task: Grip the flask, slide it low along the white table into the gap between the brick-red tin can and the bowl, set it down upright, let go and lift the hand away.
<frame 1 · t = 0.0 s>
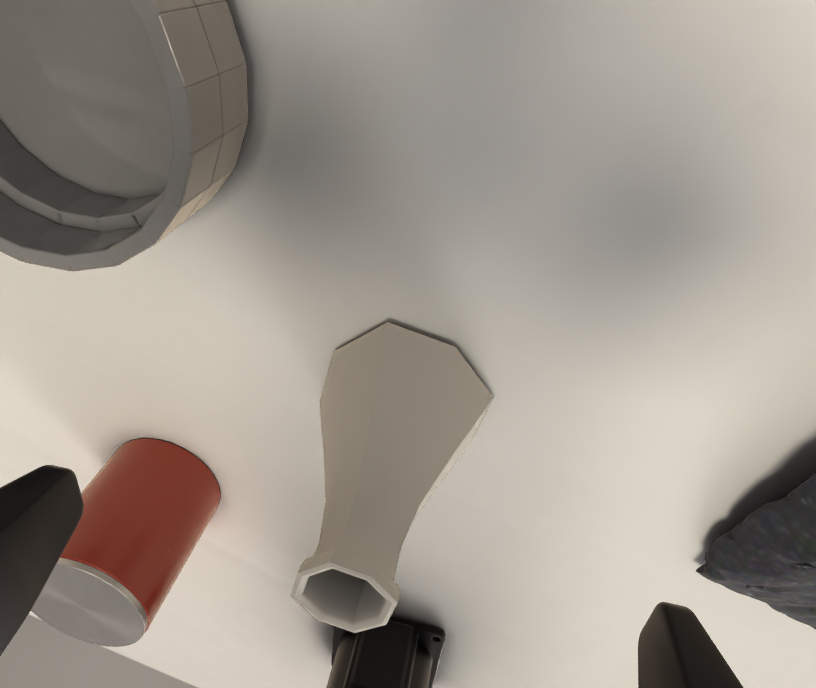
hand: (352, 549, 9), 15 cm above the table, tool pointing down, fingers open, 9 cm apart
tin can: (167, 480, 32), on the table
flask: (405, 392, 26), on the table
bowl: (97, 64, 21), on the table
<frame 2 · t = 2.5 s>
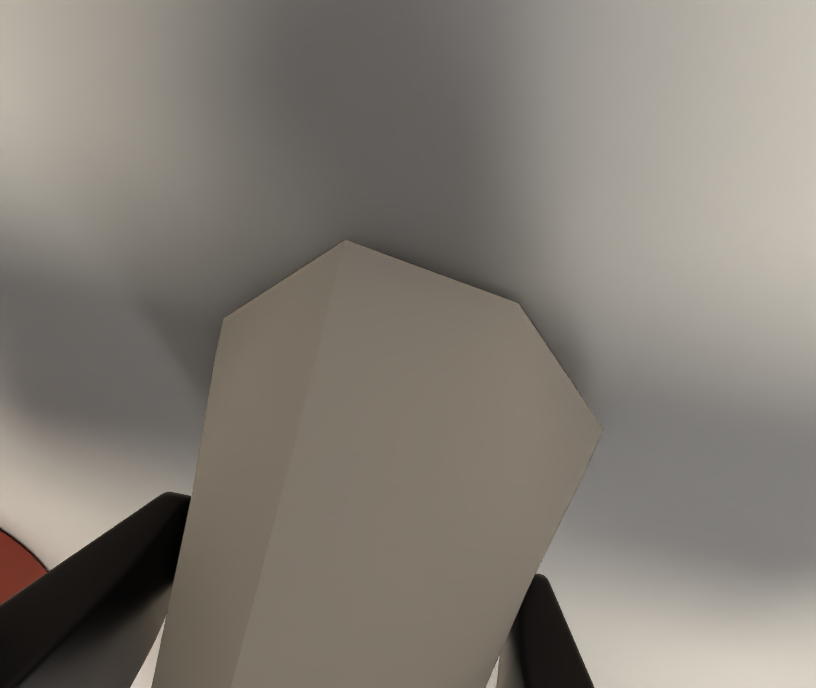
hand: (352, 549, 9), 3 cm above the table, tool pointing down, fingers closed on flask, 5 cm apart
flask: (394, 413, 12), on the table, touching gripper
when the fingers open (3 cm above the table, at t = 6.9 s): flask stays where it is, on the table.
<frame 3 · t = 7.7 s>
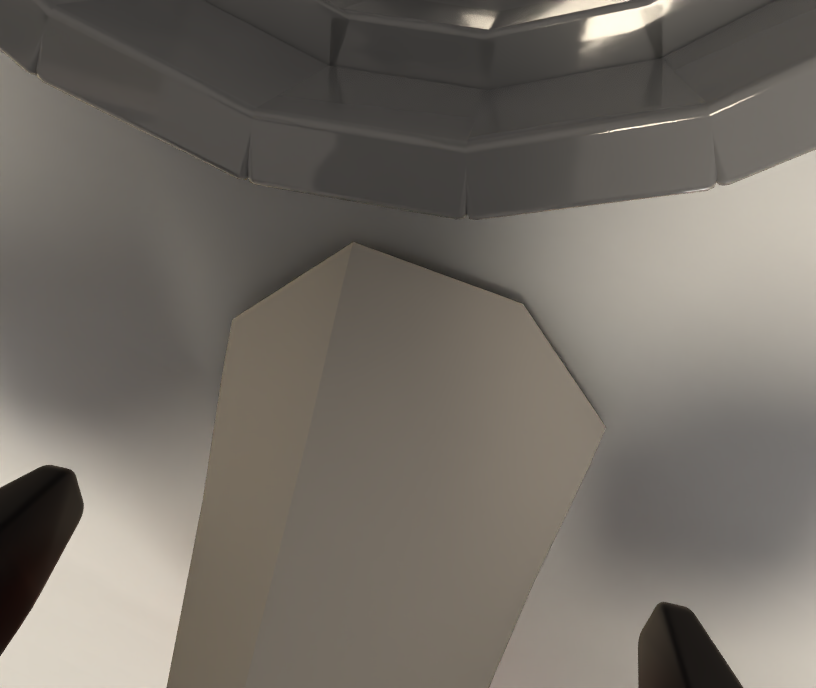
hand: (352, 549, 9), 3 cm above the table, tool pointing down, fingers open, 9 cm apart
flask: (399, 412, 12), on the table
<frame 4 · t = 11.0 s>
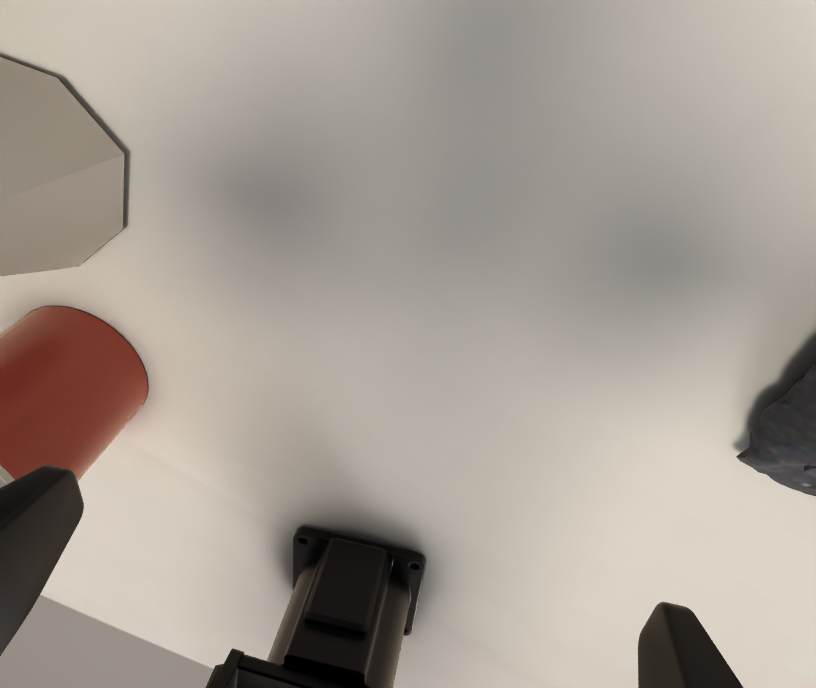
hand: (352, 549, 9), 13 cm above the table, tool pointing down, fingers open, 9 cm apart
tin can: (83, 365, 27), on the table
flask: (39, 162, 22), on the table
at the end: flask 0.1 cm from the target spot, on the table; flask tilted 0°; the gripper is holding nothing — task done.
